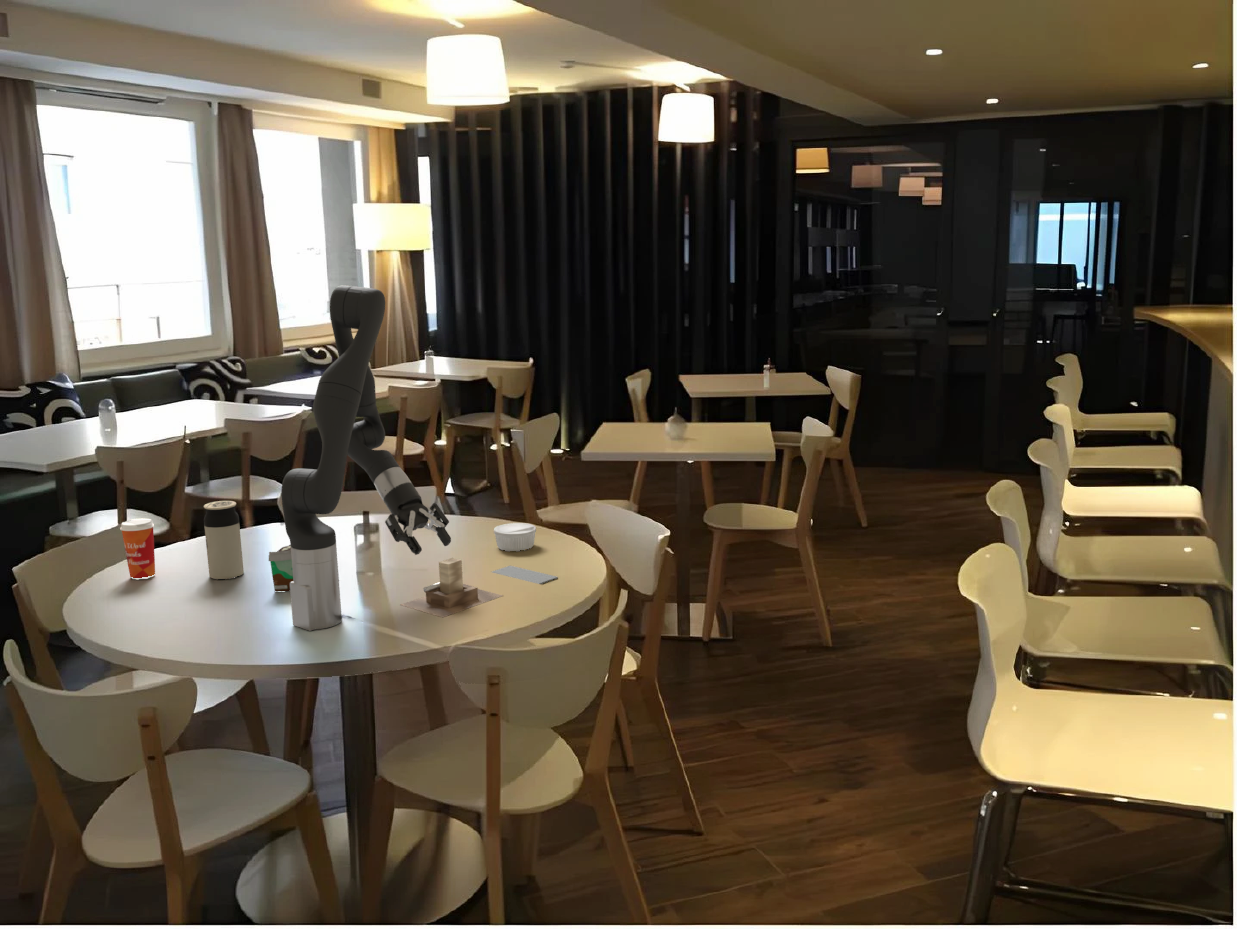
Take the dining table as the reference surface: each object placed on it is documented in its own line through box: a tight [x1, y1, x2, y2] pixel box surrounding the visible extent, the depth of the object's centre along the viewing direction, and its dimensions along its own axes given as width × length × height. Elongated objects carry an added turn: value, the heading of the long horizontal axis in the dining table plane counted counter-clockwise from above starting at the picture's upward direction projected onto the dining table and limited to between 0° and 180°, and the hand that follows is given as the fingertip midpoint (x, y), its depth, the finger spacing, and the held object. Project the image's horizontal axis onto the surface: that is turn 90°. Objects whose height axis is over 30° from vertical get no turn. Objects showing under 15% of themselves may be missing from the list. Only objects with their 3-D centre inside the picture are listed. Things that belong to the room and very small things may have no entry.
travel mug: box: [203, 500, 245, 580], centre depth 262 cm, size 8×8×18 cm
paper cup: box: [119, 517, 156, 578], centre depth 263 cm, size 8×8×14 cm
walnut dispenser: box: [400, 581, 504, 618], centre depth 238 cm, size 18×14×5 cm
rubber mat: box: [491, 565, 559, 585], centre depth 254 cm, size 18×16×1 cm
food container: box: [268, 544, 293, 592], centre depth 253 cm, size 12×6×10 cm, turn 168°
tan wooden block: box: [438, 557, 464, 594], centre depth 238 cm, size 4×3×9 cm
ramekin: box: [493, 522, 537, 552], centre depth 284 cm, size 11×11×5 cm
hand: (434, 548), depth 240 cm, fingers open, 8 cm apart
